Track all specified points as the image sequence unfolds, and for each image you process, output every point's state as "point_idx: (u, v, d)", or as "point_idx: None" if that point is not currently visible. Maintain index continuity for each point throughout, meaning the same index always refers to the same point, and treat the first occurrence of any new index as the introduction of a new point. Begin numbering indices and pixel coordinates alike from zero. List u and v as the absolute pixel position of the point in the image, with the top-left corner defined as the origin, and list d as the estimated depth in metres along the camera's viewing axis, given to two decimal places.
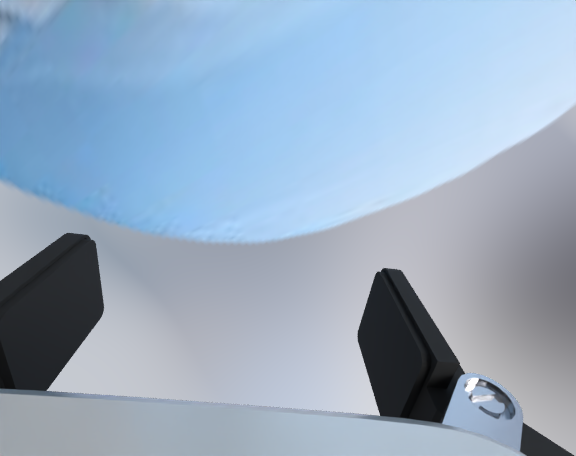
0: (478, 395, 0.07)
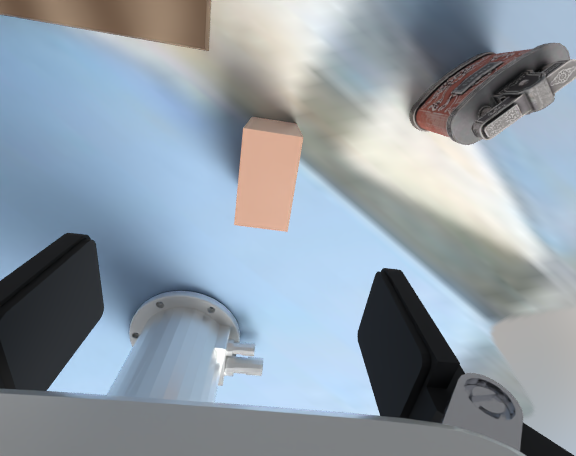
0: (478, 395, 0.07)
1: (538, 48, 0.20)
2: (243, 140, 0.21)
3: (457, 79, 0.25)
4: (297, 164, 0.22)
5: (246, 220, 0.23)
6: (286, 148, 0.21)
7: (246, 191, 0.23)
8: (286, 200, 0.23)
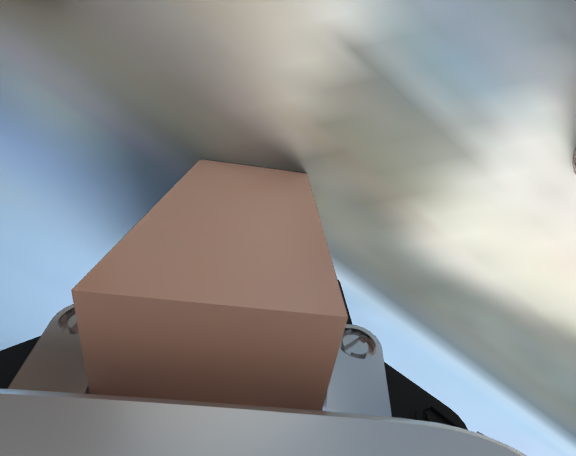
0: (348, 343, 0.07)
1: None
2: (85, 333, 0.05)
3: None
4: (320, 399, 0.06)
5: None
6: (277, 356, 0.05)
7: None
8: None
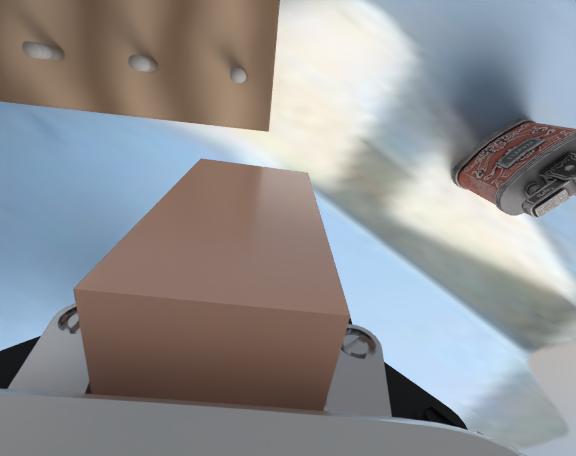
0: (347, 343, 0.07)
1: None
2: (87, 332, 0.05)
3: (499, 147, 0.27)
4: (322, 398, 0.06)
5: None
6: (279, 355, 0.05)
7: None
8: None
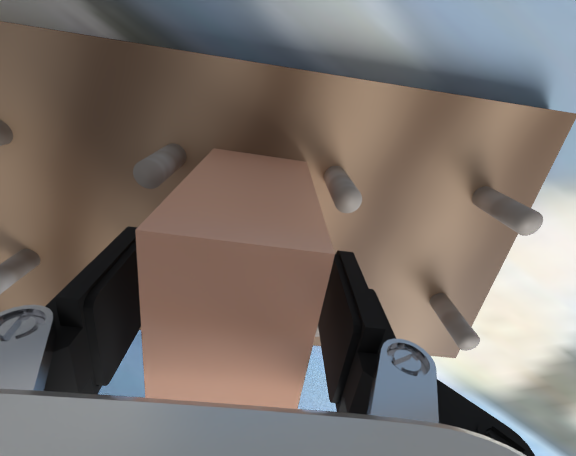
0: (399, 358, 0.07)
1: None
2: (142, 264, 0.07)
3: None
4: (314, 323, 0.07)
5: None
6: (282, 285, 0.07)
7: (171, 384, 0.08)
8: (283, 399, 0.08)
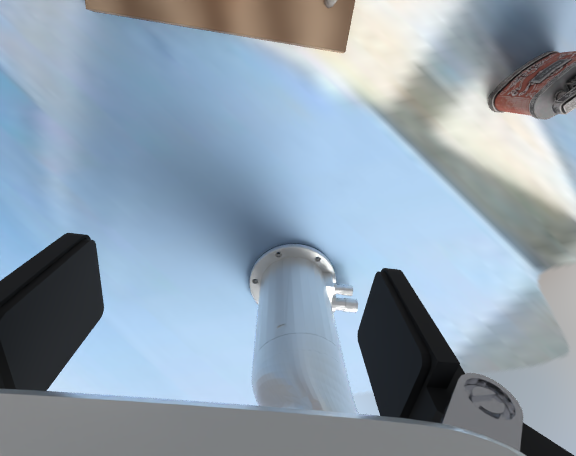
0: (478, 395, 0.07)
1: None
2: None
3: (531, 72, 0.34)
4: None
5: None
6: None
7: None
8: None
